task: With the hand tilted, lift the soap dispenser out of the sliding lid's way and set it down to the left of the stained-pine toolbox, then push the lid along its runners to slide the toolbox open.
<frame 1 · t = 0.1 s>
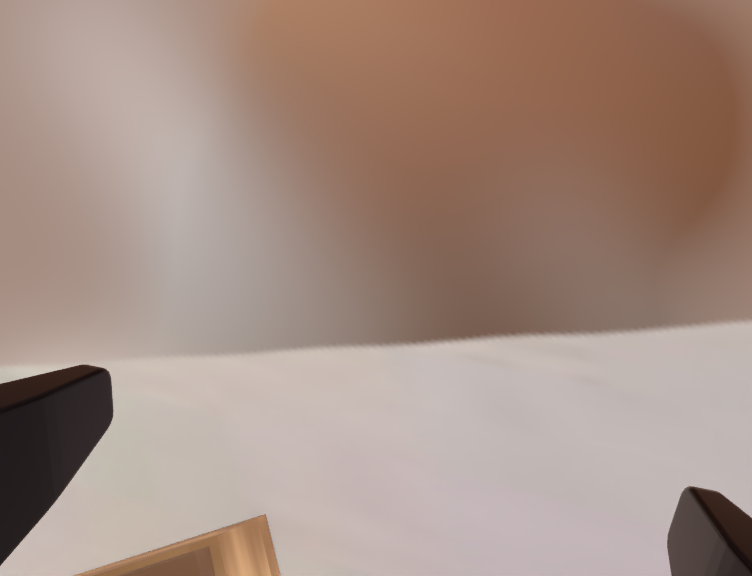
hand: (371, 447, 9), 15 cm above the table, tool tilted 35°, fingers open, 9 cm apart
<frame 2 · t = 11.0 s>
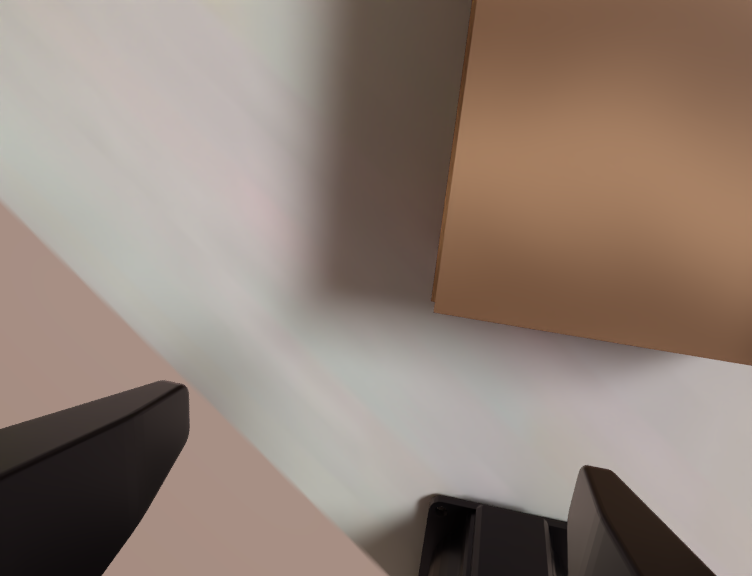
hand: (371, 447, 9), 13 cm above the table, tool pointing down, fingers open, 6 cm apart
toolbox: (671, 81, 18), on the table
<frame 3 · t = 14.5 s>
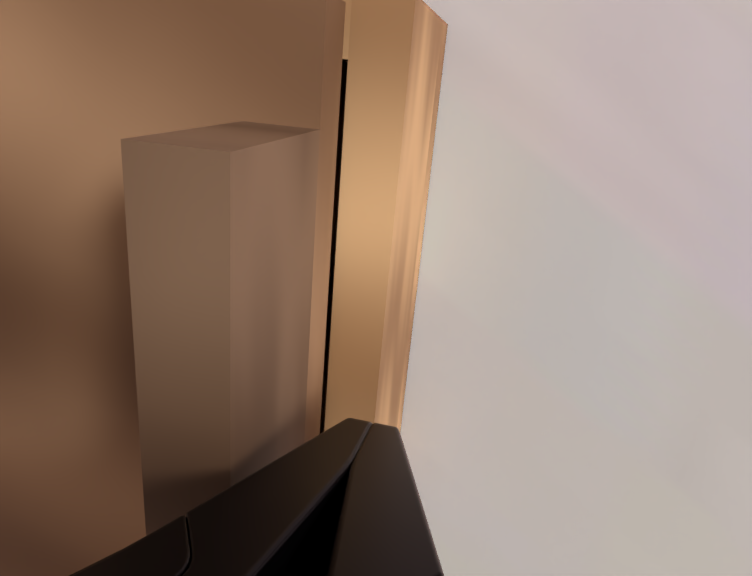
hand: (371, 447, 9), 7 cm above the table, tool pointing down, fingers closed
toolbox: (209, 256, 17), on the table
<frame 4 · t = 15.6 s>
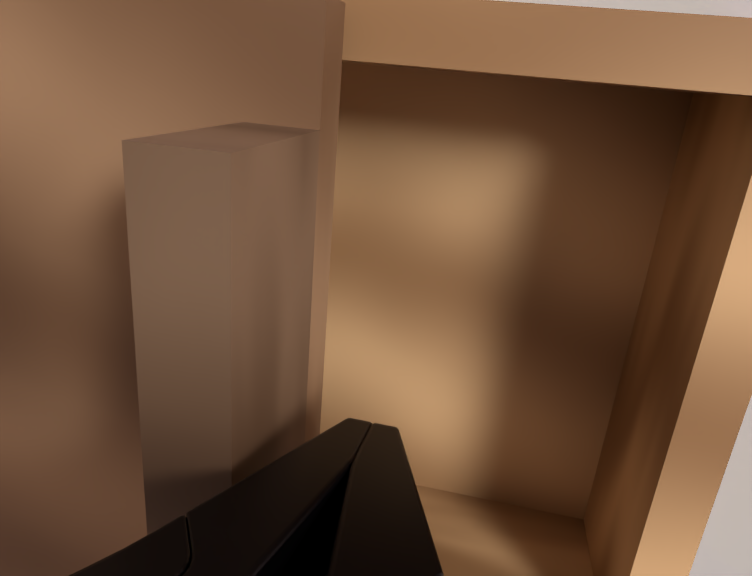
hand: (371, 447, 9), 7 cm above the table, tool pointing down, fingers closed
toolbox: (428, 290, 16), on the table
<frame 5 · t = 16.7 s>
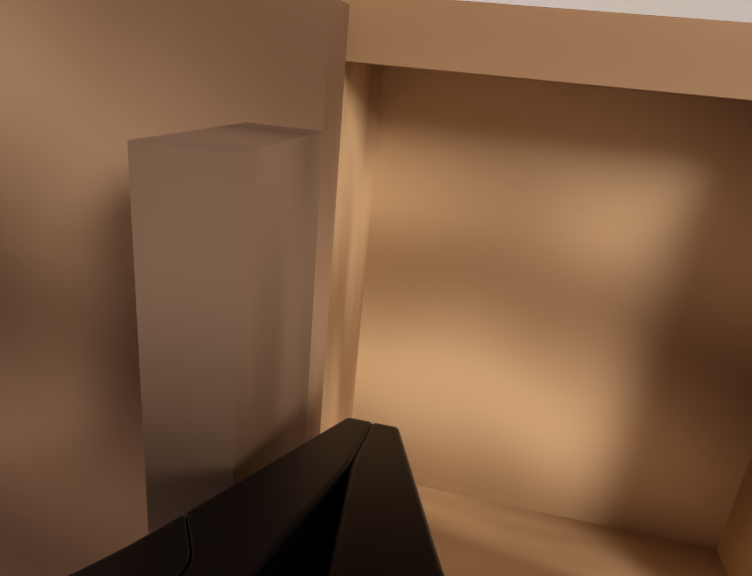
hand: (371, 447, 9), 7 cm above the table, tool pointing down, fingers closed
toolbox: (559, 311, 15), on the table
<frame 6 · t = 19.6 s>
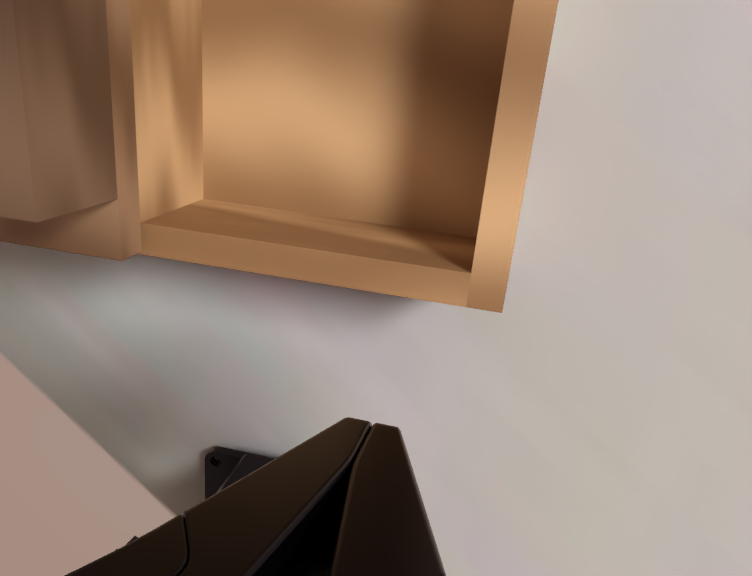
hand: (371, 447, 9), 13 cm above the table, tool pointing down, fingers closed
toolbox: (354, 50, 20), on the table
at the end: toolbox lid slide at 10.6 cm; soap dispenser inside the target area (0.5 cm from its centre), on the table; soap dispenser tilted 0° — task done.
